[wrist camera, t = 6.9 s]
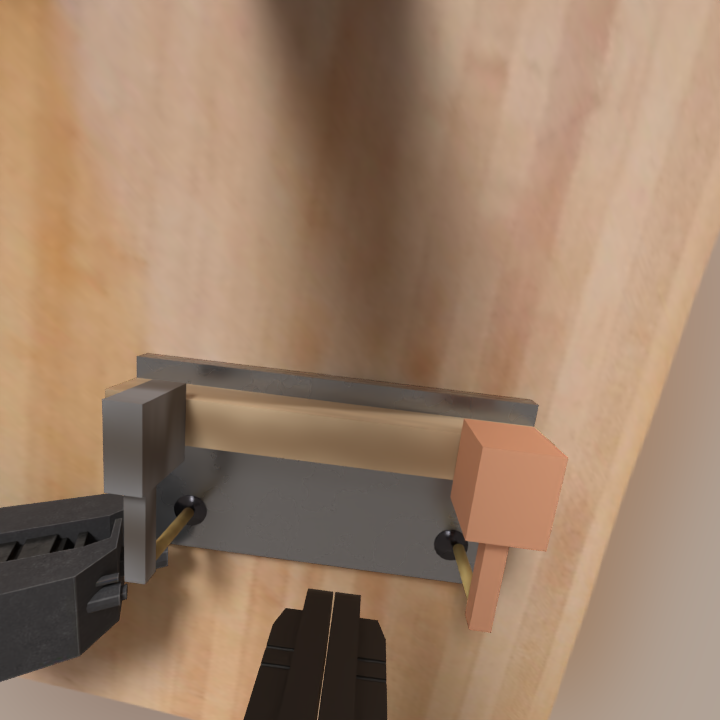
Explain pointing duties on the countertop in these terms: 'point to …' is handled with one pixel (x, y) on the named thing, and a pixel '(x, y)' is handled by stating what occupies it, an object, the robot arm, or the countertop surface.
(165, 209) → the countertop surface
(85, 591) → the tool
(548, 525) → the slider leg
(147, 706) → the countertop surface
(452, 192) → the countertop surface
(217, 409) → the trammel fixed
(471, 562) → the hole plate
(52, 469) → the countertop surface
